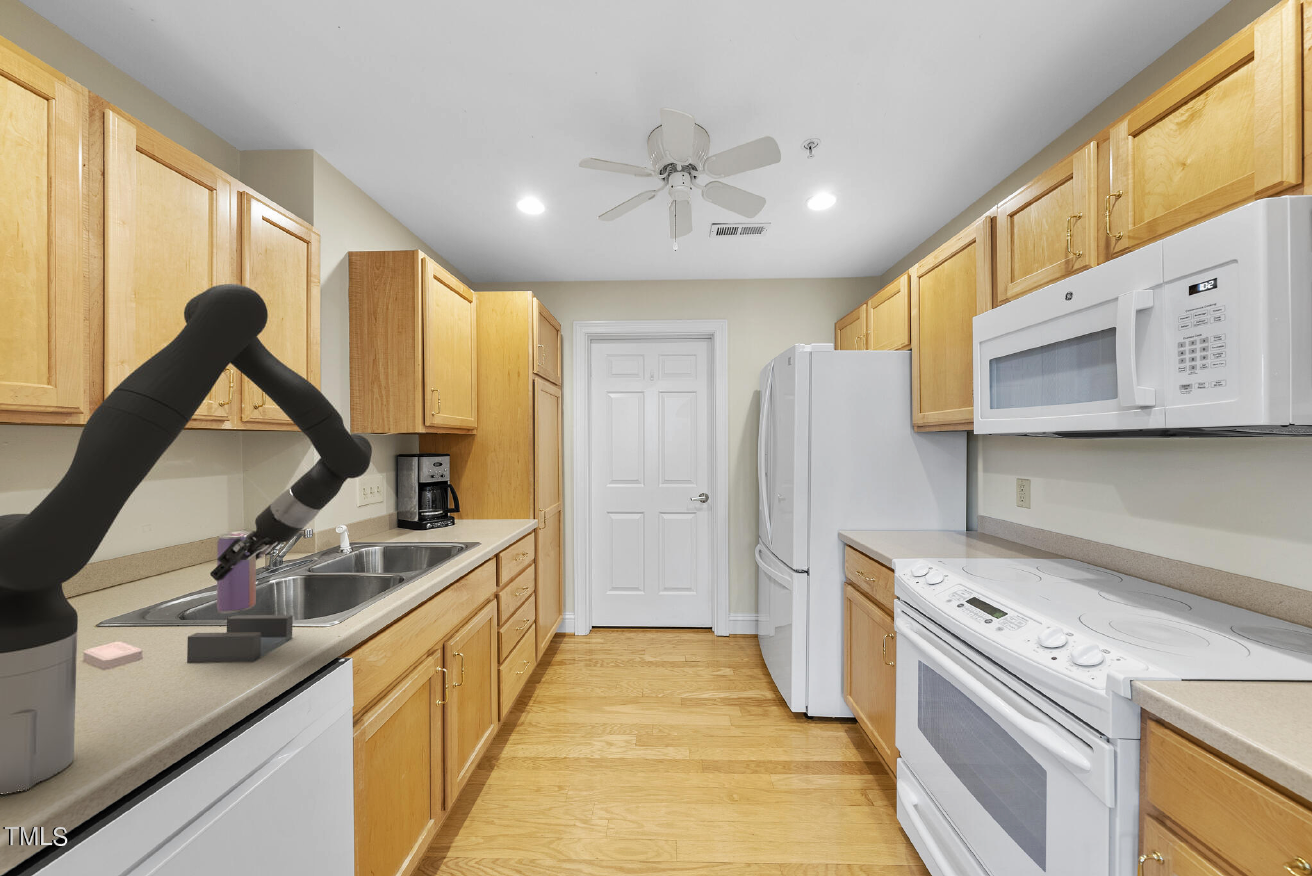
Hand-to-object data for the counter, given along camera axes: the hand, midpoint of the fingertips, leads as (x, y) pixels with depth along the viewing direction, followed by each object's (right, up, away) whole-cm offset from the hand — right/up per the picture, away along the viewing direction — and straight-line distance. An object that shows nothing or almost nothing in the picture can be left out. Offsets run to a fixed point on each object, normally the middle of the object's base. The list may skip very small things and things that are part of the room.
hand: (227, 572), depth 102 cm
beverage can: (+2, -7, 0) cm, 8 cm away
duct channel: (+1, -16, +3) cm, 17 cm away
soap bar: (-20, -17, -3) cm, 26 cm away
